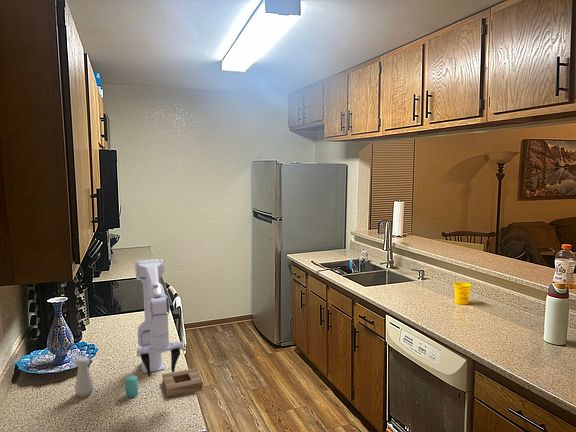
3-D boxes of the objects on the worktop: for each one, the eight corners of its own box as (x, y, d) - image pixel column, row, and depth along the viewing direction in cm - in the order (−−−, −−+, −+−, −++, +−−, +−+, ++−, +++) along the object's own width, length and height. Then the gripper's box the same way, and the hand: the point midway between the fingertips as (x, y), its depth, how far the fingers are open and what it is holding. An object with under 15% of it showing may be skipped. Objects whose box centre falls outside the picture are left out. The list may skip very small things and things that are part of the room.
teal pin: (125, 393, 154) (124, 377, 153) (137, 391, 155) (136, 374, 154) (126, 398, 150) (125, 382, 149) (138, 396, 151) (137, 379, 151)
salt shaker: (88, 388, 157) (86, 353, 156) (96, 393, 153) (94, 357, 152) (72, 395, 153) (70, 359, 151) (80, 400, 149) (77, 363, 147)
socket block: (162, 382, 161) (162, 374, 161) (195, 375, 166) (195, 368, 166) (167, 397, 150) (167, 389, 150) (202, 390, 155) (202, 382, 155)
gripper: (137, 341, 139) (139, 382, 140) (184, 334, 144) (185, 373, 146) (135, 333, 145) (137, 373, 147) (180, 327, 151) (181, 365, 152)
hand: (161, 373), depth 147 cm, fingers open, 7 cm apart
